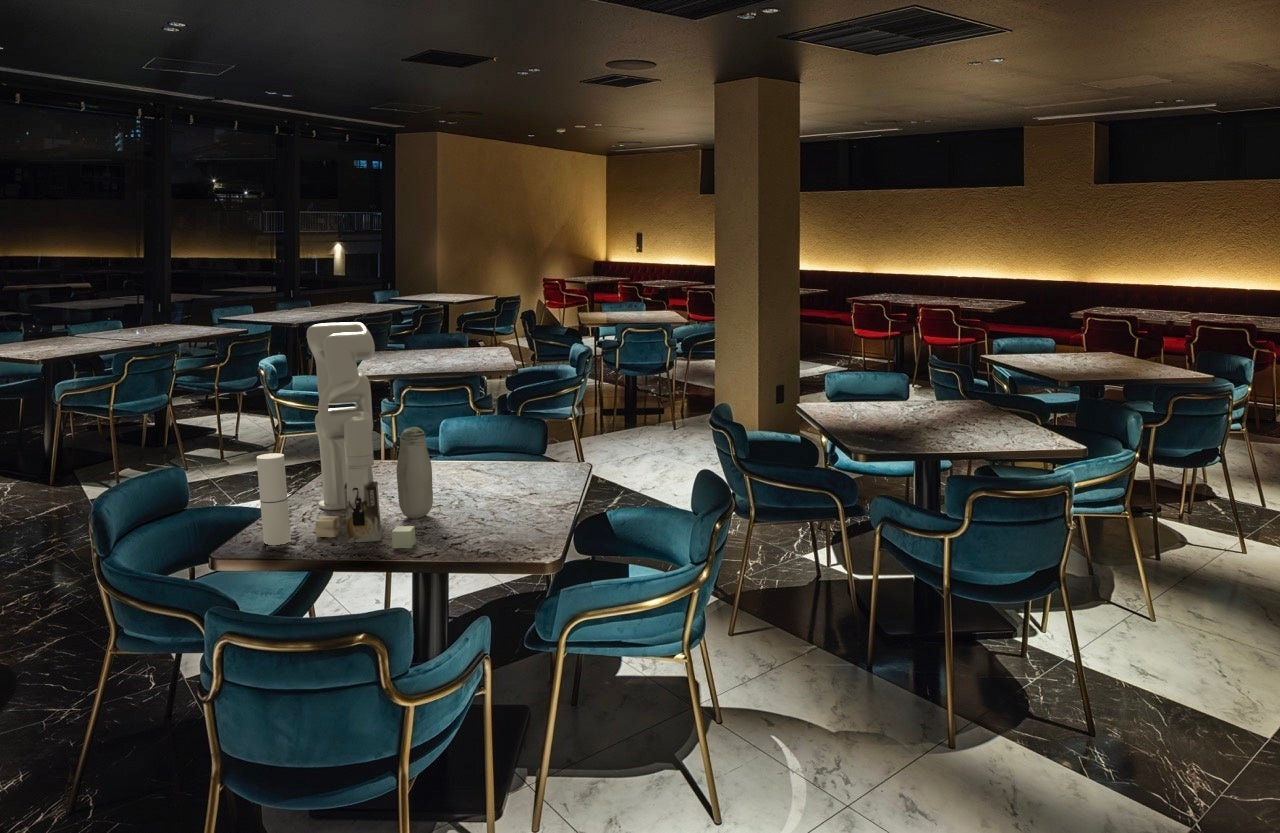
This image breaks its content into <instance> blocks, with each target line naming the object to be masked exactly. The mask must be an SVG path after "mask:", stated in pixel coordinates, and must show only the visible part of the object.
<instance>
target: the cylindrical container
mask: <svg viewBox="0 0 1280 833" xmlns="http://www.w3.org/2000/svg"><path fill="white" fill-rule="evenodd" d="M285 464H286V463H285V454H283V453H277V452H276V453H275V452H273V453H264V454H260V455H257V456H256V467H257V479H258V480H257V481H258V489H259V490H258V491H259V492H258V493H259V501H260V502H259V503H260V504H259V505H260V514H261V523H262V524H261V525H262V526H261V527H262V537H263V544H264V543H265V544H268V545H280V544H284V543H287V542H290V541H292V537H291V527H290V526H291V525H290V524H291V523H290V513H289V499H288V487H287V475H286V474H287V473H286V465H285ZM290 543H291V542H290Z"/></svg>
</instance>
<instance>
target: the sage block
mask: <svg viewBox="0 0 1280 833" xmlns="http://www.w3.org/2000/svg"><path fill="white" fill-rule="evenodd" d="M415 528H416V527H415V525H402V526H401V525H400V526H399V525H397V526H395V528H393V530H392V531H391V541H392V544H391V545H392V549H393V548H411V547H412V546H413V545H414V546H415V545H416V541H417V540H416V530H415ZM414 546H413V547H414ZM413 547H412V548H413ZM412 548H411V549H412Z"/></svg>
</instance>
